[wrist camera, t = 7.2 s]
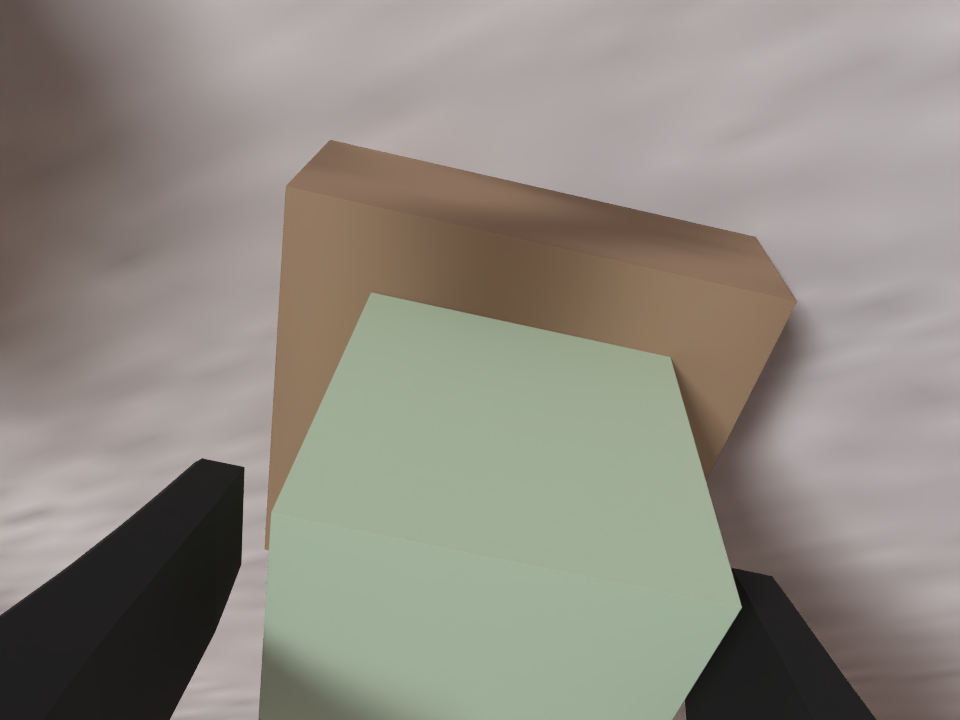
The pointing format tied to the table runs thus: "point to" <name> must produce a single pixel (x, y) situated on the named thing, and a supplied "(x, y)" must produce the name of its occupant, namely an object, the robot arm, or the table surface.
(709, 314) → the walnut block
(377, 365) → the sage cube
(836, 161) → the table surface
